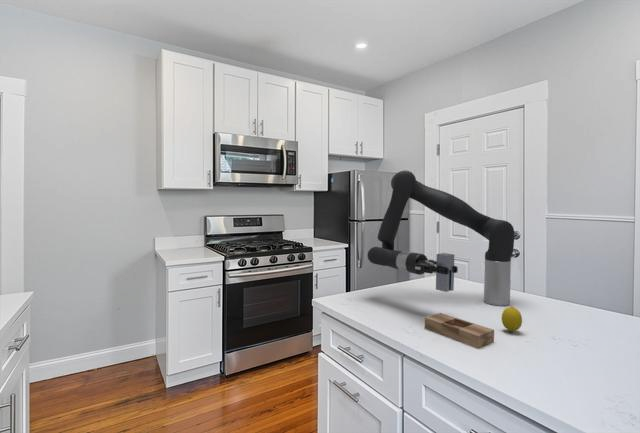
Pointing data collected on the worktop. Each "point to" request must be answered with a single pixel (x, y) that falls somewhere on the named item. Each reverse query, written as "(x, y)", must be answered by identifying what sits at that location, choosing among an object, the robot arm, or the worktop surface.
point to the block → (444, 280)
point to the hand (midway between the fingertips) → (452, 270)
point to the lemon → (511, 319)
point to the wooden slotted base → (460, 330)
